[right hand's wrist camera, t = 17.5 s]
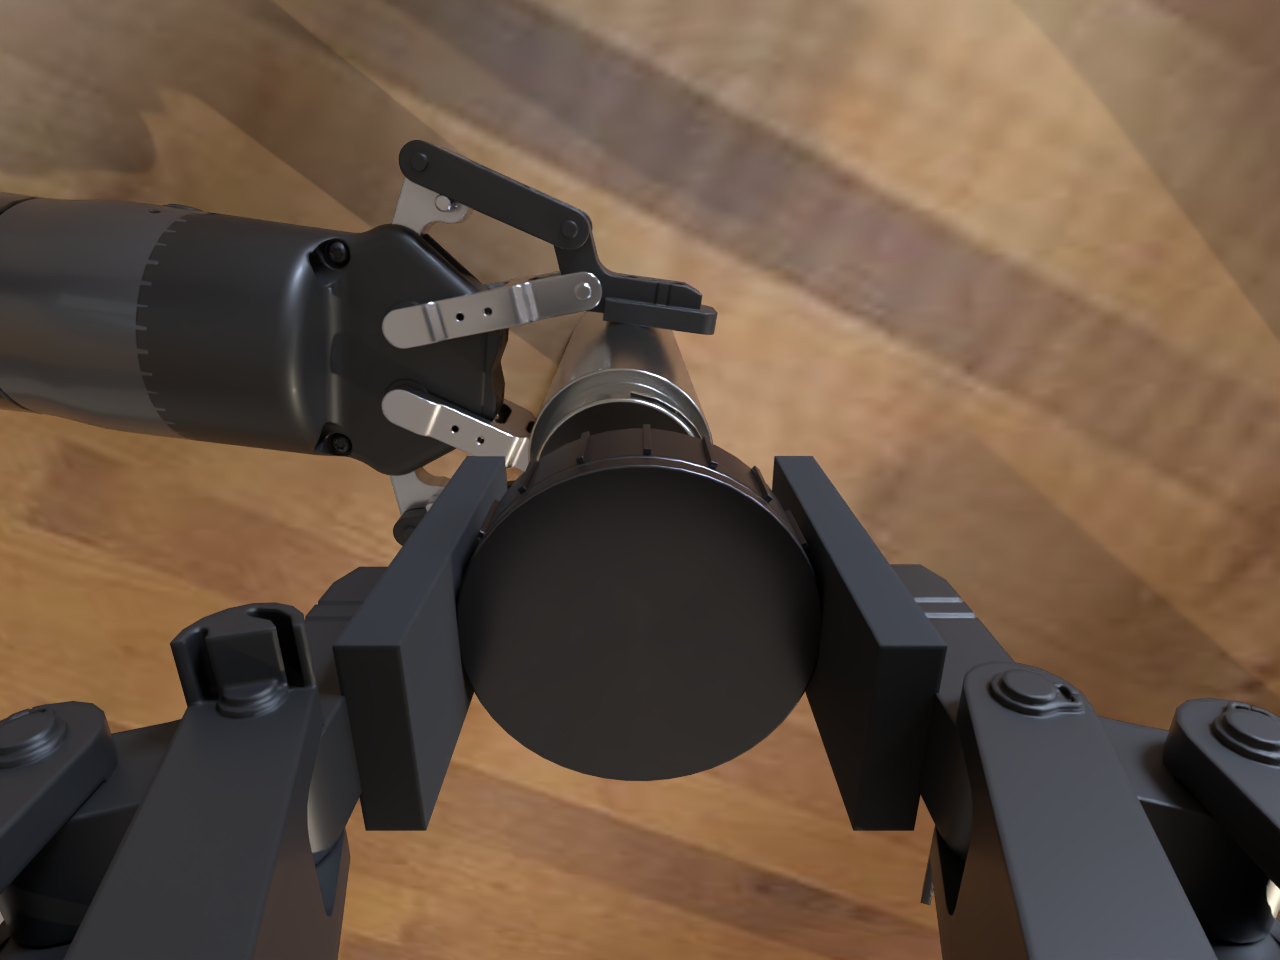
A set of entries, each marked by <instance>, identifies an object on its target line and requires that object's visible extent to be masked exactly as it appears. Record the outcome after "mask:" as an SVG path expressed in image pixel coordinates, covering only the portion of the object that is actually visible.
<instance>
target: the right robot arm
mask: <svg viewBox="0 0 1280 960" xmlns="http://www.w3.org/2000/svg"><path fill="white" fill-rule="evenodd" d="M506 492H507V477H506V463H505V456H467V457H466V458H465V460H464V461H463V462H462V464H461V465H460V467H459V468H458V469H457V471H456V472H455V474H454V475H453V477H452V478H451V479H450V481H449V482H448V484H447V485H446V486H445V488H444V489H443V491H442V492H441V493H440V495H439V496H438V498H437V499H436V500H435V502H434V503H433V505H432V506H431V507H430V509H429V510H428V512H427V513H426V514H425V516H424V517H423V519H422V520H421V521H420V523H419V524H418V526H417V527H416V528H415V530H414V531H413V533H412V534H411V535H410V537H409V538H408V540H407V541H406V543H405V544H404V545H403V547H402V548H401V550H400V551H399V552H398V554H397V555H396V557H395V558H394V559H393V561H392V562H391V564H390V565H389V566H388V567H358V568H357V569H355V570H354V571H352V572H350V573H349V574H347V575H345V576H344V577H342V578H340V579H339V580H337V581H335V582H334V583H333V584H332V585H331V586H330V588H329V589H328V590H327V591H326V592H325V594H324V595H323V596H322V597H321V598H320V600H319V601H318V605H315V606H314V607H313V608H312V609H311V610H310V612H309V613H308V614H307V615H306V619H305V620H304V615H303V613H302V612H300V611H299V610H298V609H296V608H295V607H294V606H290V605H285V604H280V603H252V604H247V605H243V606H238V607H233V608H228V609H225V610H223V611H220V612H217V613H214V614H212V615H209V616H206V617H204V618H202V619H200V620H198V621H197V622H195V623H193V624H192V625H190V626H188V627H187V628H185V629H183V630H182V631H181V632H180V633H179V634H178V635H177V636H176V637H175V638H174V639H173V640H172V641H171V643H170V645H171V649H172V653H173V656H174V660H175V663H176V667H177V671H178V674H179V678H180V681H181V685H182V688H183V692H184V696H185V699H186V703H187V706H188V707H187V709H186V711H185V713H184V715H183V717H182V719H180V720H176V721H172V722H168V723H163V724H158V725H153V726H148V727H143V728H138V729H133V730H128V731H123V732H118V733H113V734H111V732H110V729H109V726H108V723H107V720H106V717H105V714H104V711H102V710H101V709H100V708H98V707H97V706H96V705H94V704H93V703H84V702H76V701H70V702H62V703H54V704H45V705H41V706H36V707H33V708H32V709H30V710H29V709H26V710H23V711H20V712H17V713H14V714H12V715H10V716H9V717H8V718H6V719H3V720H1V721H0V912H1V914H2V916H3V918H4V921H3V922H2V923H1V924H0V960H338V952H339V944H340V936H341V928H342V920H343V912H344V904H345V896H346V888H347V880H348V872H349V864H350V852H349V844H348V839H347V834H346V829H345V826H346V824H347V822H348V819H349V817H350V815H351V813H352V811H353V809H354V807H355V805H356V803H357V801H358V799H359V797H360V802H361V807H362V813H363V818H364V824H365V829H366V831H412V830H426V829H427V826H428V824H429V821H430V818H431V815H432V812H433V809H434V806H435V803H436V800H437V798H438V795H439V792H440V789H441V786H442V783H443V780H444V777H445V774H446V772H447V769H448V766H449V763H450V760H451V757H452V754H453V751H454V748H455V746H456V743H457V740H458V737H459V734H460V731H461V728H462V725H463V722H464V720H465V717H466V714H467V711H468V708H469V705H470V702H471V699H472V696H473V694H474V690H473V689H472V687H471V685H470V683H469V680H468V678H467V675H466V673H465V670H464V668H463V665H462V661H461V655H460V647H459V638H458V628H457V617H456V610H457V600H458V596H459V591H460V587H461V582H462V580H463V577H464V575H465V572H466V570H467V567H468V564H469V562H470V560H471V558H472V556H473V554H474V552H475V549H476V547H477V545H478V543H479V541H480V539H481V538H479V537H477V534H478V532H479V530H480V528H481V526H482V524H483V522H484V520H485V518H486V516H487V514H488V512H489V510H490V508H491V506H492V504H493V502H494V500H495V499H497V500H498V501H500V500H501V499H502V497H503V496H504V495H505V493H506ZM772 492H773V493H774V495H775V496H776V498H777V499H778V500H779V502H780V504H781V505H782V507H783V509H784V511H787V510H790V511H791V513H792V515H793V517H794V519H795V521H796V523H797V525H798V527H799V529H800V531H801V533H802V535H803V537H804V538H805V540H806V542H807V544H808V546H809V548H807V549H805V550H804V551H805V553H806V555H807V557H808V559H809V561H810V563H811V565H812V568H813V570H814V573H815V576H816V579H817V582H818V585H819V589H820V594H821V600H822V605H823V619H822V630H821V639H820V649H819V657H818V661H817V665H816V668H815V671H814V673H813V676H812V678H811V680H810V682H809V685H808V687H807V689H806V691H805V692H806V695H807V698H808V701H809V703H810V706H811V709H812V712H813V715H814V718H815V721H816V724H817V727H818V729H819V732H820V735H821V738H822V741H823V744H824V747H825V750H826V753H827V755H828V758H829V761H830V764H831V767H832V770H833V773H834V776H835V779H836V781H837V784H838V787H839V790H840V793H841V796H842V799H843V802H844V805H845V807H846V810H847V813H848V816H849V819H850V822H851V825H852V828H853V831H914V827H915V821H916V816H917V810H918V805H919V799H920V794H921V796H922V798H923V800H924V802H925V804H926V806H927V808H928V811H929V813H930V815H931V817H932V819H933V821H934V823H935V829H934V834H933V839H932V844H931V849H930V854H929V859H928V864H927V869H926V874H925V879H924V885H923V890H922V897H921V903H923V904H928V905H931V900H932V895H933V890H934V894H935V902H936V910H937V918H938V926H939V934H940V942H941V950H942V958H943V960H1280V920H1279V919H1278V918H1277V915H1278V912H1279V910H1280V717H1278V716H1276V715H1274V714H1272V713H1271V712H1269V711H1267V710H1265V709H1262V708H1259V707H1256V706H1253V705H1252V706H1249V705H1248V704H1246V703H1242V702H1237V701H1229V700H1221V699H1213V698H1202V699H1193V700H1187V701H1186V702H1184V703H1183V704H1182V705H1180V706H1179V707H1178V708H1177V709H1176V712H1175V715H1174V718H1173V721H1172V724H1171V727H1170V730H1169V731H1168V730H1163V729H1158V728H1153V727H1148V726H1143V725H1138V724H1133V723H1128V722H1123V721H1118V720H1113V719H1109V718H1105V717H1101V716H1097V714H1096V712H1095V710H1094V708H1093V706H1092V705H1091V703H1090V702H1089V701H1088V700H1087V698H1086V697H1085V696H1084V695H1083V694H1082V692H1081V691H1080V690H1078V689H1077V688H1075V687H1074V686H1072V685H1071V684H1070V683H1068V682H1067V681H1065V680H1064V679H1062V678H1061V677H1058V676H1056V675H1054V674H1051V673H1049V672H1047V671H1044V670H1042V669H1040V668H1037V667H1033V666H1029V665H1025V664H1020V663H1016V662H1014V661H1013V659H1012V658H1011V657H1010V656H1009V655H1008V653H1007V652H1006V651H1005V650H1004V649H1003V647H1002V646H1001V645H1000V644H999V643H998V641H997V640H996V639H995V638H994V637H993V635H992V634H991V633H990V632H989V631H988V629H987V628H986V627H985V626H984V625H983V623H982V622H981V621H980V620H979V619H978V618H975V616H974V613H973V612H972V610H971V609H970V608H969V607H968V606H967V604H966V603H965V602H962V598H961V597H960V596H959V595H958V594H957V592H956V591H955V590H954V589H953V588H952V586H951V585H950V584H949V583H948V582H947V580H945V579H943V578H942V577H940V576H938V575H937V574H935V573H934V572H932V571H930V570H929V569H927V568H925V567H924V566H922V565H890V564H889V563H888V561H887V560H886V559H885V557H884V556H883V554H882V553H881V552H880V550H879V549H878V547H877V546H876V545H875V543H874V542H873V540H872V539H871V538H870V536H869V535H868V533H867V532H866V531H865V529H864V528H863V526H862V525H861V524H860V522H859V521H858V519H857V518H856V516H855V515H854V514H853V512H852V511H851V509H850V508H849V507H848V505H847V504H846V502H845V501H844V500H843V498H842V497H841V495H840V494H839V493H838V491H837V490H836V488H835V487H834V486H833V484H832V483H831V481H830V480H829V479H828V477H827V476H826V474H825V473H824V472H823V470H822V469H821V467H820V466H819V465H818V463H817V462H816V460H815V459H814V457H813V456H775V457H774V471H773V485H772Z"/></svg>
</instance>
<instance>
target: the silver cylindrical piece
mask: <svg viewBox="0 0 1280 960" xmlns="http://www.w3.org/2000/svg"><path fill="white" fill-rule="evenodd" d="M603 314H604V313H598V312H590V311H587V312H585V313H584V315H583V316H582V317H581V318H580V320H579V321H578V323H577V325H576V327H575V329H574V331H573V334H572V336H571V338H570V341H569V343H568V346H567V348H566V350H565V353H564V355H563V357H562V360H561V362H560V364H559V367H558V369H557V371H556V374H555V376H554V378H553V381H552V383H551V386H550V388H549V390H548V393H547V395H546V397H545V400H544V402H543V404H542V407H541V409H540V411H539V414H538V416H537V418H536V421H535V423H534V426H533V428H532V432H531V435H530V439H529V447H528V464H529V461H531V460H532V459H533V458H535V459H536V460H537V461H539V460H540V459H541V458H543V457H544V456H546V455H547V454H549V453H551V452H552V451H554V450H556V449H558V448H560V447H562V446H564V445H565V444H568V443H570V442H573V441H576V440H578V439H581V436H582V433H584V432H587V431H588V432H589V434H590V435H594V434H598V433H602V432H606V431H613V430H622V429H631V428H635V429H643V424H650V429H659V430H666V431H673V432H678V433H682V434H685V435H689V436H692V437H696V438H699V439H701V440H702V438H703V436H706V437H709V438H710V440H711V443H712V444H713V441H712V436H711V433H710V430H709V426H708V424H707V421H706V418H705V416H704V413H703V410H702V408H701V405H700V402H699V400H698V397H697V394H696V392H695V389H694V387H693V384H692V381H691V379H690V376H689V373H688V371H687V368H686V365H685V363H684V360H683V357H682V355H681V352H680V350H679V347H678V344H677V342H676V339H675V336H674V334H673V331H672V330H668V329H660V328H653V327H646V326H638V325H633V324H623V323H616V322H609V321H603Z"/></svg>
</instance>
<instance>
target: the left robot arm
mask: <svg viewBox="0 0 1280 960" xmlns="http://www.w3.org/2000/svg"><path fill="white" fill-rule="evenodd" d="M399 165H400V169H401V171H402V173H403V174H404V176H405V179H404V183H403V186H402V190H401V193H400V197H399V200H398V204H397V207H396V211H395V214H394V218H393V221H392V224H385V225H381V226H378V227H376V228H374V229H372V230H369V231H367V232H363V233H351V232H343V231H336V230H329V229H322V228H315V227H308V226H301V225H293V224H286V223H279V222H272V221H265V220H258V219H251V218H244V217H237V216H230V215H223V214H215V213H207V212H203V211H201V210H199V209H196V208H192V207H188V206H183V205H177V204H168V205H163V206H159V205H152V204H145V203H137V202H129V201H119V200H63V199H52V198H43V197H36V196H29V195H21V194H14V193H7V192H0V409H3V410H12V411H20V412H28V413H36V414H46V415H52V416H58V417H62V418H66V419H70V420H74V421H78V422H82V423H85V424H89V425H93V426H97V427H102V428H106V429H112V430H118V431H125V432H132V433H140V434H148V435H156V436H164V437H173V438H181V439H189V440H197V441H205V442H213V443H222V444H230V445H238V446H246V447H255V448H263V449H271V450H279V451H288V452H296V453H304V454H312V455H324V456H345V457H351V458H354V459H357V460H359V461H362V462H364V463H365V464H367V465H369V466H371V467H372V468H374V469H375V470H377V471H378V472H381V473H383V474H386V475H390V478H391V481H392V485H393V489H394V492H395V496H396V499H397V503H398V506H399V510H400V513H401V517H400V518H399V520H398V521H397V523H396V524H395V526H394V528H393V534H394V537H395V539H396V541H397V542H398V543H399V544H401V545H402V546H403V545H404V544H405V543H406V541H407V540H408V538H409V537H410V535H411V534H412V533H413V531H414V530H415V528H416V527H417V526H418V524H419V523H420V521H421V520H422V519H423V517H424V516H425V514H426V513H427V512H428V510H429V509H430V507H431V506H432V505H433V503H434V502H435V500H436V499H437V498H438V496H439V495H440V493H441V492H442V491H443V489H444V488H445V486H446V485H447V484H448V482H449V481H450V478H447V477H437V476H433V475H431V474H429V473H428V472H426V471H425V469H424V468H423V466H425V465H426V464H428V463H430V462H432V461H434V460H436V459H438V458H439V457H441V456H443V455H445V454H447V453H449V452H451V451H452V450H454V449H456V448H458V449H460V450H462V451H464V452H467V453H469V454H471V455H473V456H505V463H506V468H509V467H513V468H517V469H519V470H521V471H524V472H525V471H526V468H527V466H528V447H529V439H530V435H531V432H532V428H533V426H534V423H535V421H536V417H535V416H534V415H533V414H532V413H531V412H530V411H528V410H527V409H525V408H523V407H521V406H519V405H516V404H514V403H512V402H510V401H508V400H506V399H504V388H505V382H504V377H503V372H502V367H501V358H502V355H503V353H504V350H505V347H506V344H507V341H508V331H509V327H515V326H520V325H524V324H527V323H531V322H533V321H536V320H541V319H546V318H551V317H556V316H561V315H566V314H572V313H577V312H582V311H590V312H598V313H604V314H603V321H609V322H616V323H623V324H633V325H638V326H646V327H653V328H660V329H668V330H675V331H682V332H690V333H697V334H706V335H712V334H714V330H715V324H716V318H717V312H716V311H715V310H714V308H712V307H710V306H705V305H701V300H702V294H701V293H700V292H699V291H698V290H697V289H695V288H693V287H691V286H690V285H688V284H686V283H685V282H678V281H671V280H663V279H655V278H649V277H642V276H635V275H628V274H621V273H615V272H612V271H610V270H608V269H607V268H605V267H604V266H603V265H602V263H601V262H600V260H599V258H598V255H597V251H596V247H595V242H594V238H593V234H592V222H591V219H590V218H589V216H588V215H587V214H586V213H585V212H584V211H582V210H580V209H578V208H575V207H573V206H571V205H569V204H567V203H564V202H562V201H560V200H558V199H556V198H553V197H551V196H549V195H547V194H545V193H542V192H540V191H538V190H536V189H533V188H531V187H529V186H527V185H525V184H522V183H520V182H518V181H516V180H514V179H511V178H509V177H507V176H505V175H503V174H500V173H498V172H496V171H494V170H492V169H489V168H487V167H485V166H483V165H481V164H478V163H476V162H474V161H472V160H470V159H467V158H465V157H463V156H461V155H459V154H456V153H454V152H452V151H450V150H448V149H445V148H443V147H440V146H437V145H434V144H431V143H428V142H424V141H421V140H413V141H410V142H408V143H406V144H405V145H404V146H403V148H402V149H401V151H400V154H399ZM473 209H474V210H476V211H479V212H481V213H483V214H485V215H488V216H490V217H492V218H494V219H497V220H499V221H501V222H503V223H506V224H508V225H510V226H512V227H515V228H517V229H519V230H522V231H524V232H526V233H528V234H531V235H533V236H535V237H537V238H540V239H542V240H544V241H546V242H549V243H551V244H553V245H554V248H555V252H556V256H557V260H558V264H559V268H560V271H557V272H552V273H546V274H541V275H535V276H527V277H521V278H516V279H511V280H506V281H501V282H496V283H491V284H486V285H483V284H482V283H481V282H480V281H479V280H477V279H476V278H475V277H474V276H473V275H472V274H471V273H470V272H469V271H468V270H466V269H465V268H464V267H463V266H462V265H461V264H460V263H459V262H458V261H457V260H456V259H454V258H453V257H452V256H451V255H450V254H449V253H448V252H447V251H446V250H445V249H444V248H442V247H441V246H440V245H439V244H438V243H437V242H436V241H435V240H434V239H433V238H431V237H430V236H429V235H428V234H427V233H428V231H429V229H430V227H431V226H432V225H433V224H435V223H437V222H444V223H449V224H452V223H461V222H464V221H466V220H467V219H468V218H469V217H470V216H471V214H472V212H473ZM497 414H498V415H499V416H497ZM480 437H482V438H484V439H481V438H480ZM515 481H516V480H515ZM515 481H508V482H507V491H508V489H509V488H510V487H511V486H512V484H513V483H514V482H515Z"/></svg>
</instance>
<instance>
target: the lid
mask: <svg viewBox="0 0 1280 960" xmlns="http://www.w3.org/2000/svg"><path fill="white" fill-rule="evenodd" d="M477 537H479V538H481V539H480V541H479V543H478V545H477V547H476V549H475V552H474V554H473V556H472V558H471V560H470V562H469V564H468V567H467V570H466V572H465V575H464V577H463V580H462V582H461V587H460V591H459V596H458V600H457V610H456V617H457V628H458V638H459V647H460V655H461V661H462V665H463V668H464V670H465V673H466V675H467V678H468V680H469V683H470V685H471V687H472V689H473V690H474V692H475V694H476V695H477V697H478V699H479V701H480V702H481V704H482V705H483V706H484V708H485V709H486V710H487V711H488V713H489V714H490V715H491V717H492V718H493V719H494V720H495V721H496V722H497V723H498V724H499V725H500V726H501V727H502V728H503V729H504V730H505V731H506V732H507V733H508V734H509V735H511V736H512V737H513V738H514V739H516V740H517V741H518V742H519V743H521V744H522V745H523V746H525V747H526V748H528V749H530V750H531V751H533V752H535V753H536V754H538V755H539V756H541V757H543V758H545V759H547V760H549V761H551V762H554V763H556V764H558V765H560V766H562V767H565V768H568V769H571V770H574V771H577V772H580V773H583V774H588V775H592V776H597V777H601V778H607V779H616V780H625V781H652V780H663V779H672V778H677V777H682V776H687V775H692V774H695V773H698V772H701V771H705V770H708V769H711V768H714V767H716V766H718V765H721V764H723V763H725V762H727V761H730V760H732V759H734V758H735V757H737V756H739V755H741V754H742V753H744V752H746V751H748V750H750V749H751V748H752V747H754V746H755V745H756V744H758V743H759V742H761V741H762V740H763V739H765V738H766V737H767V736H768V735H769V734H770V733H772V732H773V731H774V730H775V729H776V728H777V727H778V726H779V725H780V724H781V723H782V722H783V721H784V720H785V719H786V717H787V716H788V715H789V714H790V713H791V711H792V710H793V709H794V708H795V706H796V705H797V703H798V702H799V700H800V699H801V697H802V695H803V694H804V692H805V691H806V689H807V687H808V685H809V682H810V680H811V678H812V676H813V673H814V671H815V668H816V665H817V661H818V657H819V649H820V639H821V630H822V619H823V605H822V600H821V594H820V589H819V585H818V582H817V579H816V576H815V573H814V570H813V568H812V565H811V563H810V561H809V559H808V557H807V555H806V553H805V551H804V550H805V549H807V548H809V546H808V544H807V542H806V540H805V538H804V537H803V535H802V533H801V531H800V529H799V527H798V525H797V523H796V521H795V519H794V517H793V515H792V513H791V511H790V510H787V511H784V509H783V507H782V505H781V504H780V502H779V500H778V499H777V498H776V496H775V495H774V493H773V492H772V491H771V489H770V488H769V486H768V485H767V484H766V483H765V481H764V479H763V477H762V474H761V472H760V470H759V469H758V468H757V467H756V466H754V467H753V468H752V469H751V468H750V467H748V466H747V465H746V464H744V463H743V462H742V461H741V460H739V459H738V458H737V457H735V456H733V455H732V454H730V453H728V452H727V451H725V450H723V449H721V448H720V447H718V446H716V445H713V444H712V443H711V440H710V438H709V437H706V436H703V438H702V440H701V439H699V438H696V437H692V436H689V435H685V434H682V433H678V432H673V431H666V430H659V429H650V424H643V429H635V428H631V429H622V430H613V431H606V432H602V433H598V434H594V435H590V434H589V432H588V431H587V432H584V433H582V436H581V439H578V440H576V441H573V442H570V443H568V444H565V445H564V446H562V447H560V448H558V449H556V450H554V451H552V452H551V453H549V454H547V455H546V456H544V457H543V458H541V459H540V460H539V461H537V460H536V459H535V458H533V459H532V460H531V461H529V464H528V466H527V468H526V471H525V472H524V473H523V474H522V475H521V476H520V477H519V478H518V479H517V480H516V481H515V482H514V483H513V484H512V486H511V487H510V488H509V489H508V491H507V492H506V493H505V495H504V496H503V497H502V499H501V500H500V501H498V500H497V499H495V500H494V502H493V504H492V506H491V508H490V510H489V512H488V514H487V516H486V518H485V520H484V522H483V524H482V526H481V528H480V530H479V532H478V534H477Z"/></svg>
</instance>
